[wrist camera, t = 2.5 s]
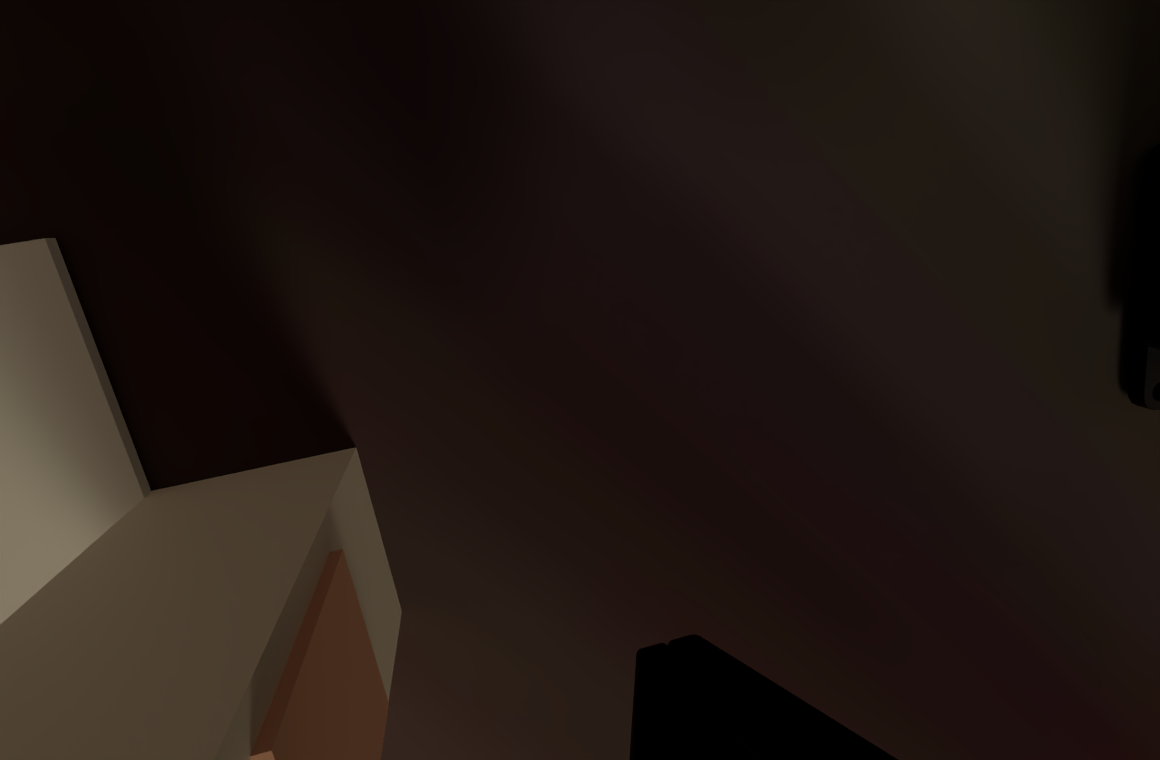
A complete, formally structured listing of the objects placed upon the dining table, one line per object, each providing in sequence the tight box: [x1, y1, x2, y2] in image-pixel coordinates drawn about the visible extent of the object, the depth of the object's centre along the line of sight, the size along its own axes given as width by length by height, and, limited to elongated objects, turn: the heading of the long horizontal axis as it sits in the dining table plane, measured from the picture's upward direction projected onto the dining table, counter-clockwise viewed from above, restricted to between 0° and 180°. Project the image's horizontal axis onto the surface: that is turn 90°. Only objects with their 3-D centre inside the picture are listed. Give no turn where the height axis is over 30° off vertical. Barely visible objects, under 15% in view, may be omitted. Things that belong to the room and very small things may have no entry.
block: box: [0, 447, 402, 760], centre depth 9 cm, size 4×4×9 cm
